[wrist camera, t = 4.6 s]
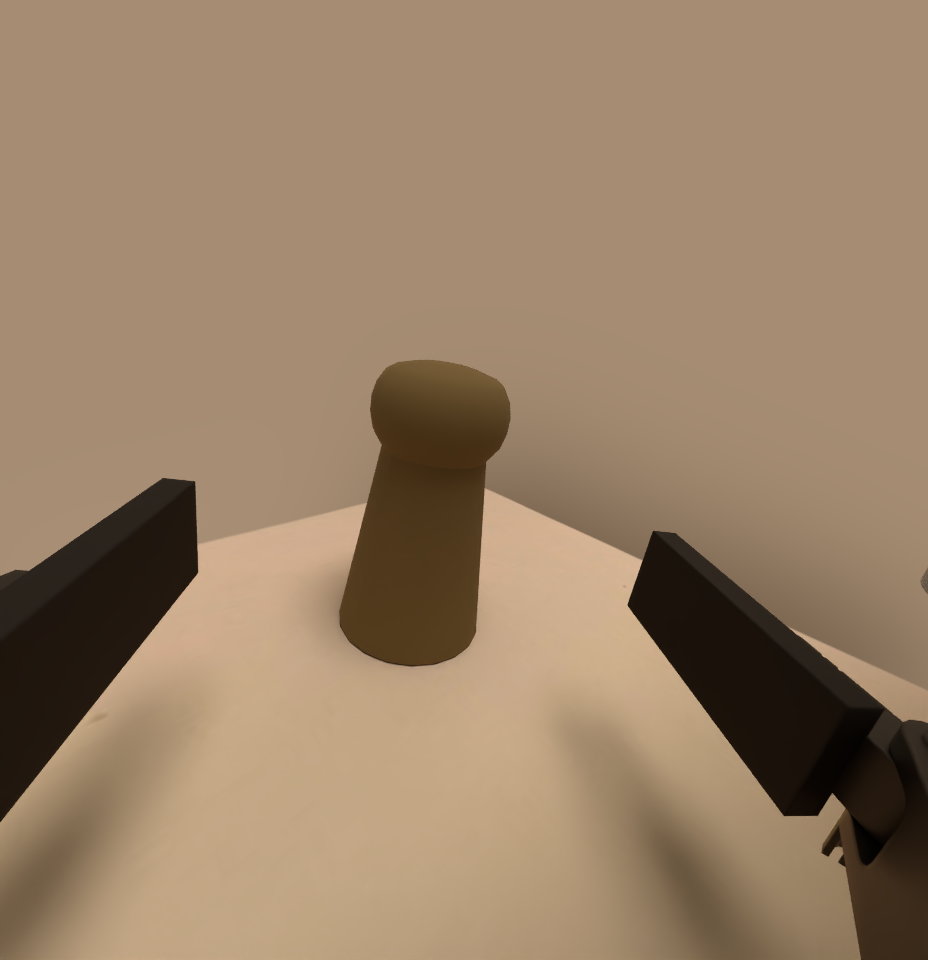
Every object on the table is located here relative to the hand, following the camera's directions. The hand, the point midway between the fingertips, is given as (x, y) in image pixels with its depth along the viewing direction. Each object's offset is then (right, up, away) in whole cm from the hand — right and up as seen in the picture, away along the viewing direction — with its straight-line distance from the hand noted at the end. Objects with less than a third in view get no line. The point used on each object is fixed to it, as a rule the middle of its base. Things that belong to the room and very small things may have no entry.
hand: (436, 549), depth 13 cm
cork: (-2, -4, +7) cm, 8 cm away
